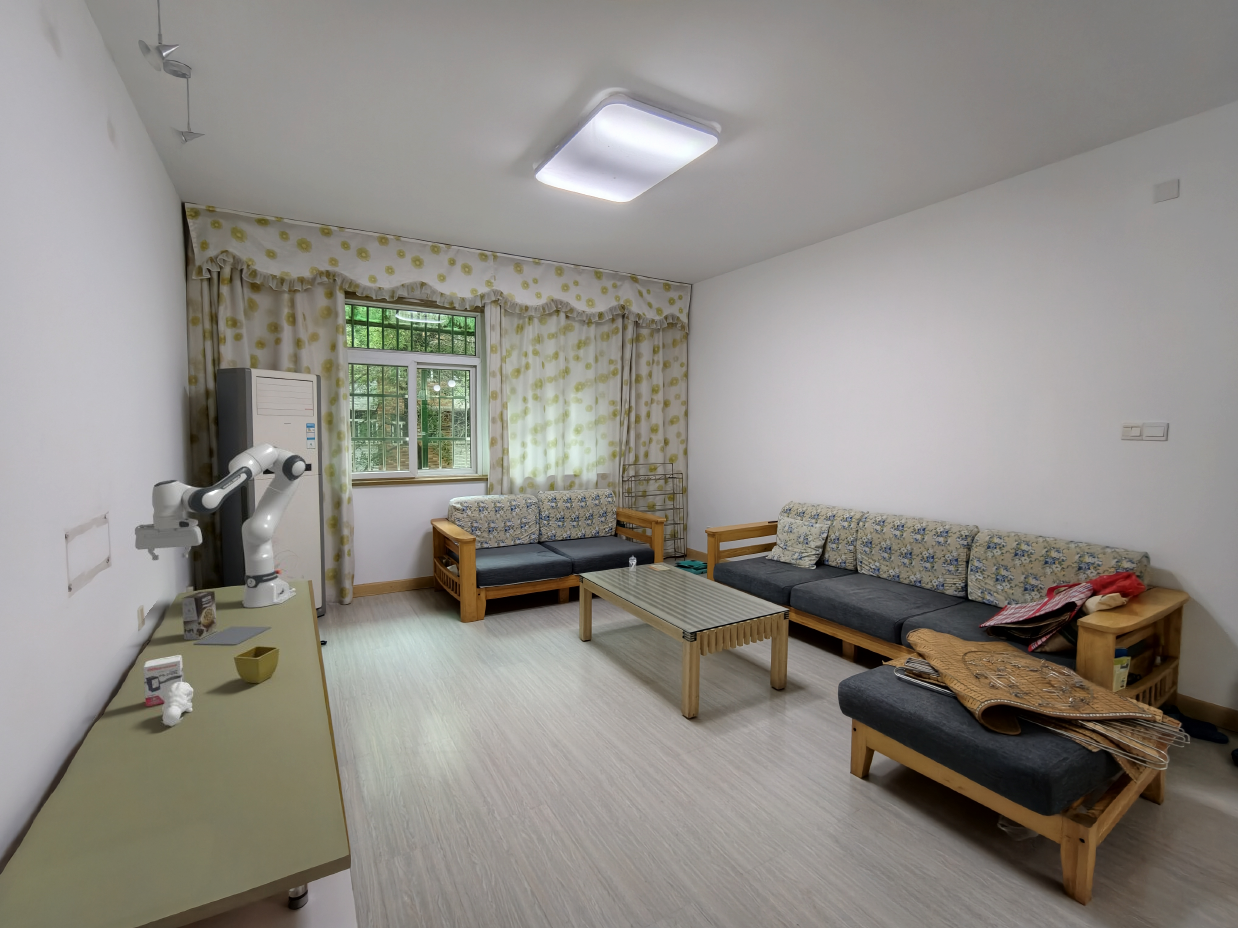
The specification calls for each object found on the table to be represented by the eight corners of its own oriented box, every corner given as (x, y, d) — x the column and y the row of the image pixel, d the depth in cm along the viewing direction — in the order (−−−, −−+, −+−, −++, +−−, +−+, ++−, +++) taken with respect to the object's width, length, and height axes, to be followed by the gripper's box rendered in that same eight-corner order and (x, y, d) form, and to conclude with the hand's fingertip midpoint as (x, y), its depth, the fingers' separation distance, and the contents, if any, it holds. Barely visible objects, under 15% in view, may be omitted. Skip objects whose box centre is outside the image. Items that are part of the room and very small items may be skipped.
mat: (231, 627, 226) (231, 626, 226) (271, 627, 224) (270, 626, 224) (193, 644, 208) (193, 643, 208) (235, 645, 206) (235, 644, 206)
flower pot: (258, 687, 171) (257, 658, 170) (234, 685, 173) (232, 656, 172) (281, 674, 180) (280, 647, 179) (258, 672, 181) (256, 645, 181)
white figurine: (193, 676, 159) (182, 698, 148) (196, 704, 160) (185, 728, 149) (165, 681, 156) (152, 704, 145) (168, 710, 157) (155, 734, 147)
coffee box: (200, 639, 212) (197, 597, 212) (183, 639, 213) (180, 597, 212) (218, 631, 222) (215, 590, 221) (201, 631, 222) (199, 590, 221)
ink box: (145, 707, 160) (142, 666, 159) (147, 700, 164) (144, 660, 163) (183, 698, 164) (180, 659, 164) (184, 692, 168) (182, 653, 168)
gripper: (130, 526, 209) (133, 563, 210) (197, 522, 216) (199, 558, 217) (138, 523, 215) (140, 559, 216) (202, 520, 222) (204, 554, 223)
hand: (170, 558), depth 216 cm, fingers open, 8 cm apart
